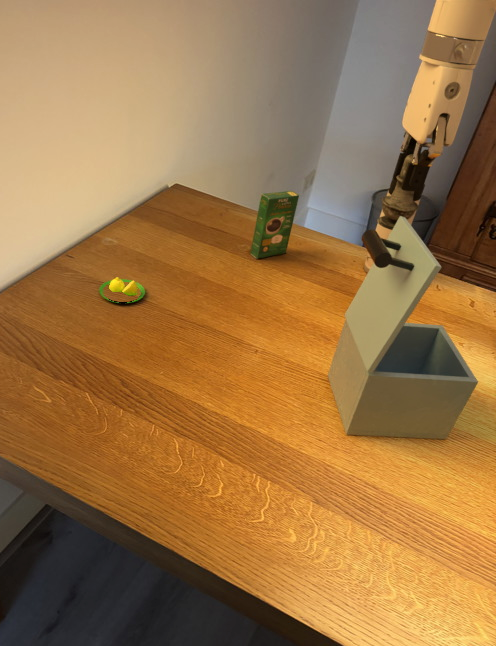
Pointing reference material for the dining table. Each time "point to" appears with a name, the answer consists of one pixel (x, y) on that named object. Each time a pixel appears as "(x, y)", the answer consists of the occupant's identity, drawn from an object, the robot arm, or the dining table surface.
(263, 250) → the coffee box
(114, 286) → the plate with lemons
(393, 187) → the travel mug
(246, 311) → the dining table surface
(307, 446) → the dining table surface
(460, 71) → the robot arm
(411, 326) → the grey hinged box
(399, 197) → the chess piece figurine
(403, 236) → the lid
